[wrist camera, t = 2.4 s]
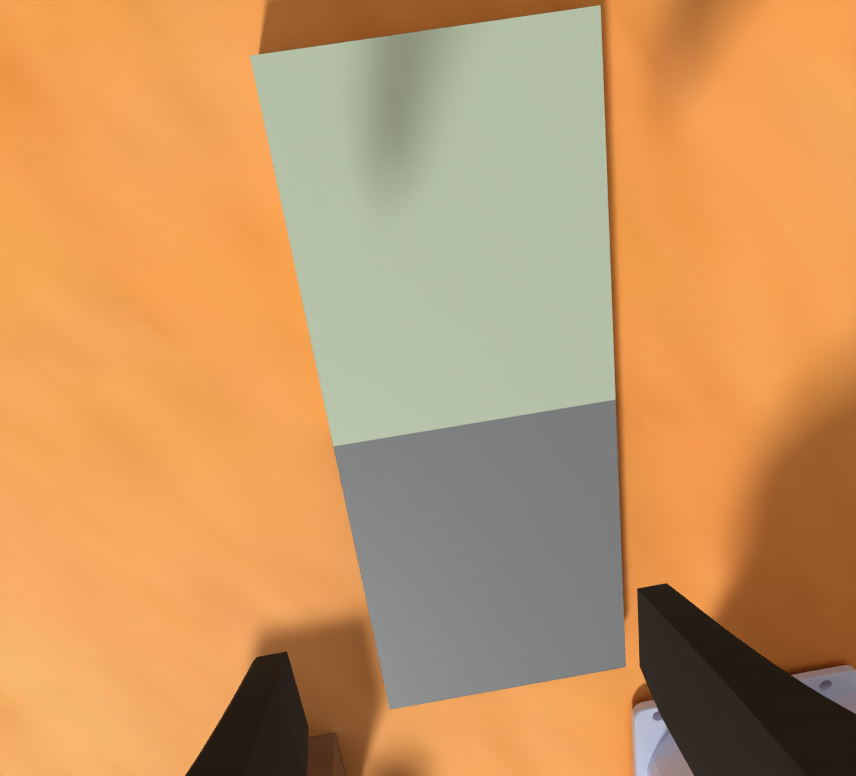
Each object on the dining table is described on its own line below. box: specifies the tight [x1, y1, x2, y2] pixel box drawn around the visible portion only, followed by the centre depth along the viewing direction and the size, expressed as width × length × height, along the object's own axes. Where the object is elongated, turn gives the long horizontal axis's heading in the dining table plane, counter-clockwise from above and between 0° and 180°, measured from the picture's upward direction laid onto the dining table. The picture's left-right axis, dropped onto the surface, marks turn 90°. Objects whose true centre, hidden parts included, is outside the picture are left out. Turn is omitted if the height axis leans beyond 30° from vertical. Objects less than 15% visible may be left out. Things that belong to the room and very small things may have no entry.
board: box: [250, 5, 626, 709], centre depth 21 cm, size 9×22×1 cm, turn 8°
